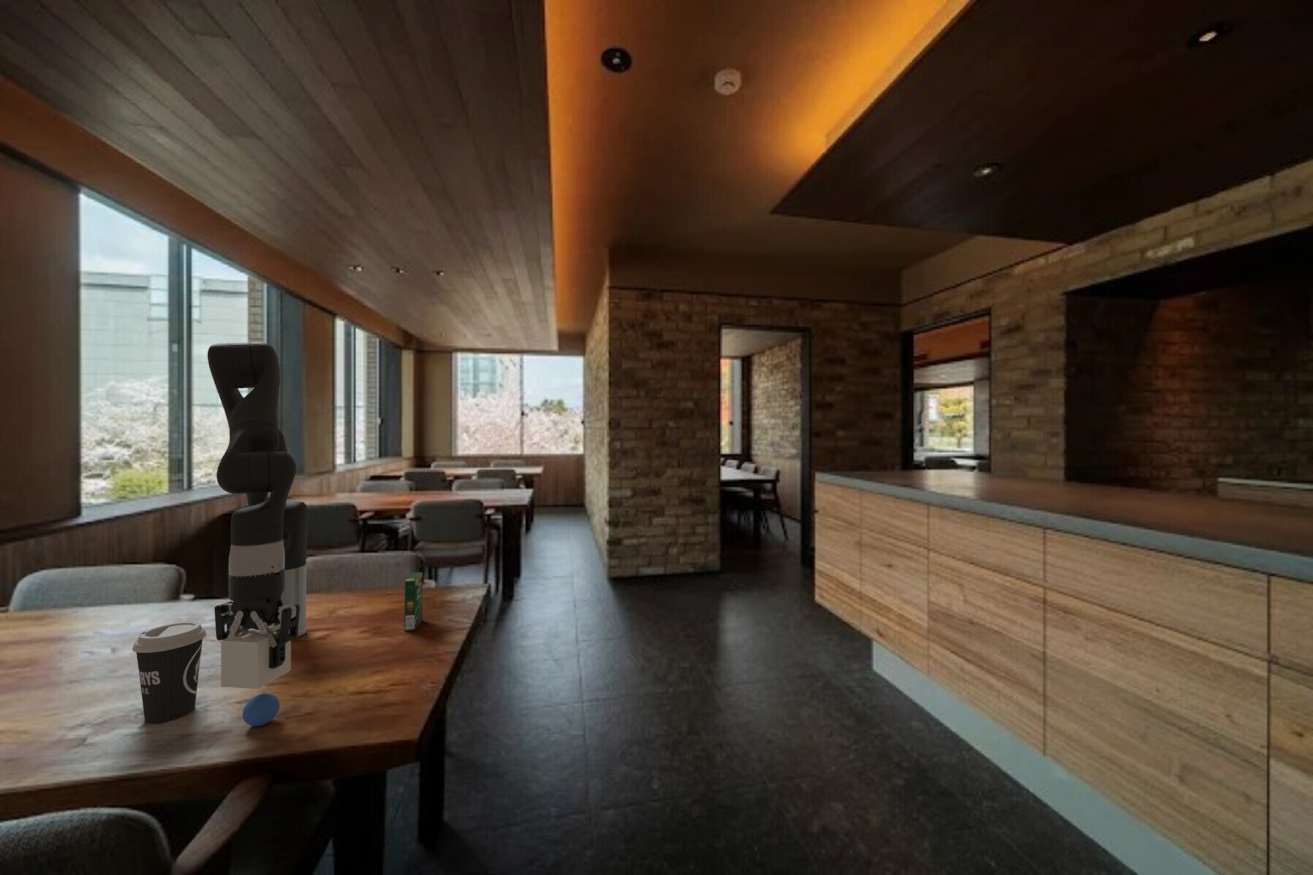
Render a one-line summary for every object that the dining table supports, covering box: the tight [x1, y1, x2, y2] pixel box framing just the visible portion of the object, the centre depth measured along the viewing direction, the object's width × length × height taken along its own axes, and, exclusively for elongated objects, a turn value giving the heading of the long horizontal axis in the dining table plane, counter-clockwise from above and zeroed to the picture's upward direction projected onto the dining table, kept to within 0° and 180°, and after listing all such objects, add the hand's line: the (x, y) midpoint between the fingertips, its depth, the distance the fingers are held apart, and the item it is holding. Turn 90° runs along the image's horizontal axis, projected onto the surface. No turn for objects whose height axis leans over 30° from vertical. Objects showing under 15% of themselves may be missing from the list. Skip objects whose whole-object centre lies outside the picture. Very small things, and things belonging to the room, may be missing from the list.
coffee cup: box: [131, 621, 207, 724], centre depth 90 cm, size 10×10×15 cm
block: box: [220, 626, 292, 690], centre depth 86 cm, size 7×7×8 cm
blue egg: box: [242, 692, 280, 727], centre depth 87 cm, size 5×5×5 cm
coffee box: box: [404, 571, 423, 632], centre depth 132 cm, size 8×3×13 cm, turn 13°
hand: (257, 665), depth 86 cm, fingers closed on block, 6 cm apart
